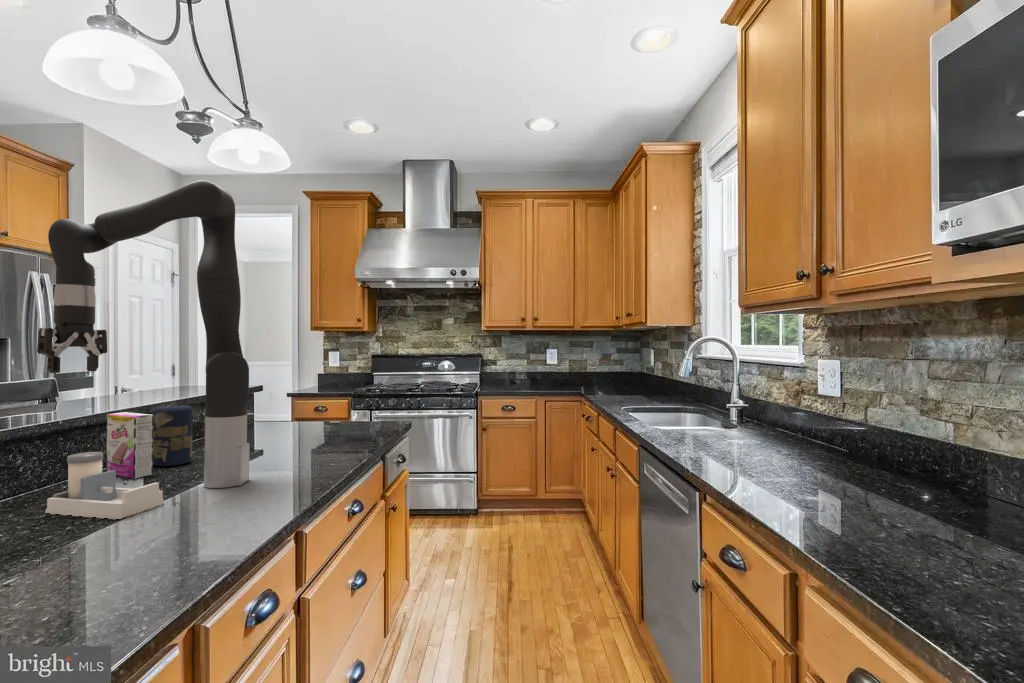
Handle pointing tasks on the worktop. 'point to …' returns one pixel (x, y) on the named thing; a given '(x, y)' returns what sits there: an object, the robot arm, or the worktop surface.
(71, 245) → the robot arm
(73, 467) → the jar
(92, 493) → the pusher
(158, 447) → the canister
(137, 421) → the candy bar box
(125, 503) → the cream shallow rectangular tray
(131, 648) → the worktop surface
